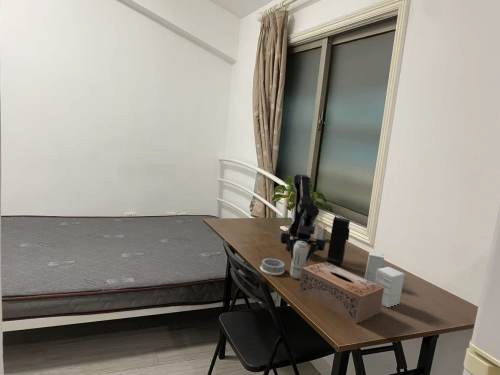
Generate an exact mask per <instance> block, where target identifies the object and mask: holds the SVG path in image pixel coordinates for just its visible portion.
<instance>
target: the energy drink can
mask: <svg viewBox="0 0 500 375" xmlns="http://www.w3.org/2000/svg"><path fill="white" fill-rule="evenodd" d="M309 247H310V246H308V243H307V242H304V241H296V243H295V245H294V250H293V257H292V258H291V264H290V271H289V274H290V276H291V277H292V278H293V279H296V280H300V278H301V272H302V268H303V267H306V266H307V262H308V261H306V260H307V256H308V253H309V250H310V248H309ZM291 277H290V278H291Z"/></svg>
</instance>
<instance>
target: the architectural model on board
mask: <svg viewBox="0 0 500 375" xmlns="http://www.w3.org/2000/svg"><path fill="white" fill-rule="evenodd" d="M313 226H315V232H314V234H311V238H313V239H315V240H316V238H318V239H323V240H325V241H326V240H327V239H326V237H327V232H328V229H327V227H328V225H326V224H324V225H323V226H320V225H318V224H315V223H314V222H313Z"/></svg>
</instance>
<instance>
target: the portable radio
mask: <svg viewBox="0 0 500 375" xmlns="http://www.w3.org/2000/svg"><path fill="white" fill-rule="evenodd" d="M350 221H351V220H350V219H347V218H344V217H343V218H342V217H338V216H337V215H335V216H334V218H333V220H332V227H331V233H330V239H329V244H328V252H327V257H326V262H328V263H330V264H332V265H335V266H337V267H339V268H341V269H342V267H343V264H344V257H345V251H346V246H347V242H349V238H350V230H351V229H350V228H349V227H350Z"/></svg>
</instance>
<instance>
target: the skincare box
mask: <svg viewBox="0 0 500 375" xmlns="http://www.w3.org/2000/svg"><path fill="white" fill-rule="evenodd" d="M384 260H385V256H384V254H382V253H377V252H372V251H369V253H368V258H367V262H366V268H365V273H364V277H363V278H364V279H366V280H368V281H370V282H372V283H375V279H376V273H377V269H380V268H383V265H384Z"/></svg>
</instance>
